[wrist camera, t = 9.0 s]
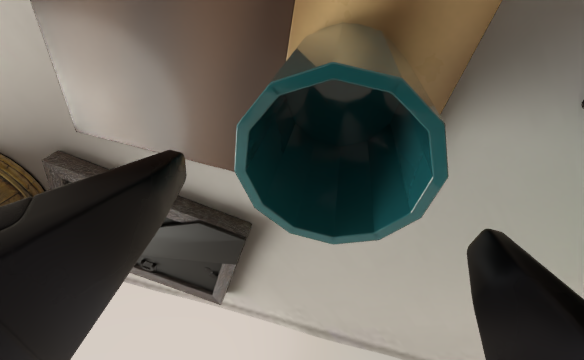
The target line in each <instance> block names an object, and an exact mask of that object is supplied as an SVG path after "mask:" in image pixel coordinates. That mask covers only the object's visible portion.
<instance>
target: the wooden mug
mask: <svg viewBox="0 0 584 360" xmlns="http://www.w3.org/2000/svg"><path fill="white" fill-rule="evenodd" d="M43 192H44V190H43V189H42V187H41V186H40V185H39V184H38V183H37V181H36V180H35V179H34V178H33V177H32V176H31V175H30V174H28V173H27V172H26V171H25V170H24V169H23V168H22V167H20V166H19V165H18V164H16V163H15V162H13V161H12V160H10V159H9V158H7V157H5V156H3V155H1V154H0V207H1V206H4V205H7V204H10V203H13V202H16V201H19V200H22V199H25V198H28V197H34V195H37V194H40V193H43Z"/></svg>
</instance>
